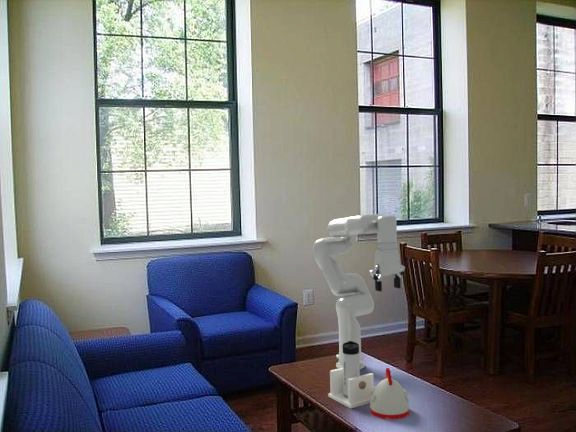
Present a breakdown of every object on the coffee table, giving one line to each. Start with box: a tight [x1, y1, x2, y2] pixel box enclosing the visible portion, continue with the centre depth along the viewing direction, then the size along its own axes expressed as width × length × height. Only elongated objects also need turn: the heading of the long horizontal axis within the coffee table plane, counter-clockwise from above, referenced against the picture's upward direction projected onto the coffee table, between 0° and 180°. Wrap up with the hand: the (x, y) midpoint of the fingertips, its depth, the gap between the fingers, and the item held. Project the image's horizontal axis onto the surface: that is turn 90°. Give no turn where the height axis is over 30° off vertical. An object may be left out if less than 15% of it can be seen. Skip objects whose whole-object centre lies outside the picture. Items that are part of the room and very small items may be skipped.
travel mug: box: [342, 341, 361, 398], centre depth 214 cm, size 6×7×20 cm
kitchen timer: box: [369, 367, 410, 420], centre depth 202 cm, size 14×14×15 cm
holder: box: [327, 368, 375, 410], centre depth 214 cm, size 14×12×10 cm
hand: (388, 289), depth 227 cm, fingers open, 9 cm apart
